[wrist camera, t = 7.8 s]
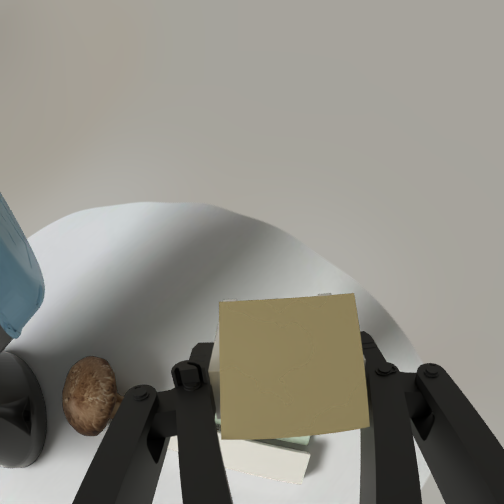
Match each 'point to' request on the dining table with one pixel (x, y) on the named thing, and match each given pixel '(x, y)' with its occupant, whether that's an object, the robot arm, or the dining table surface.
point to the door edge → (261, 459)
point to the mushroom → (90, 395)
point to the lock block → (291, 368)
